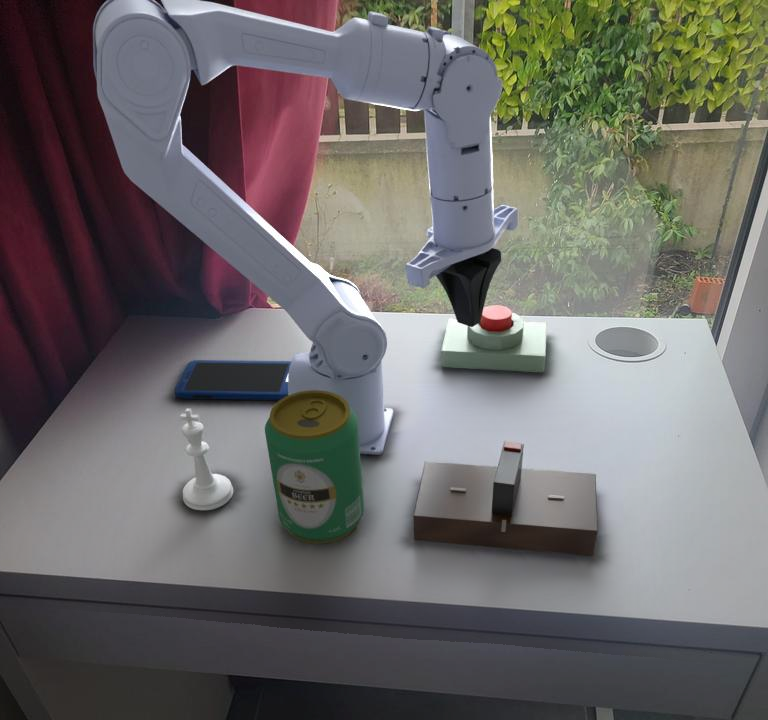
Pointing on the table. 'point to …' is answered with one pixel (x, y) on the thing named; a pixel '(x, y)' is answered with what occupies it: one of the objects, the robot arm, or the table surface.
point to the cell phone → (234, 380)
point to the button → (496, 318)
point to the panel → (530, 514)
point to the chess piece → (202, 471)
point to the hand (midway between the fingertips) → (468, 321)
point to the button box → (495, 346)
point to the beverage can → (315, 465)
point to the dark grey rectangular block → (507, 478)
